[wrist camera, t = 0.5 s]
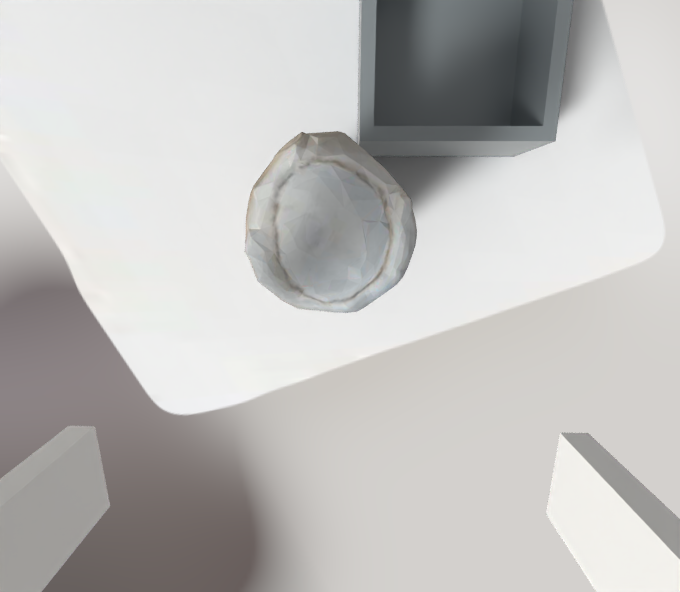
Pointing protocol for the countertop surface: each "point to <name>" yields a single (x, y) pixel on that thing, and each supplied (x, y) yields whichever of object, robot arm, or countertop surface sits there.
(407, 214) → the white paper tall sack
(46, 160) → the countertop surface
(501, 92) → the bin
